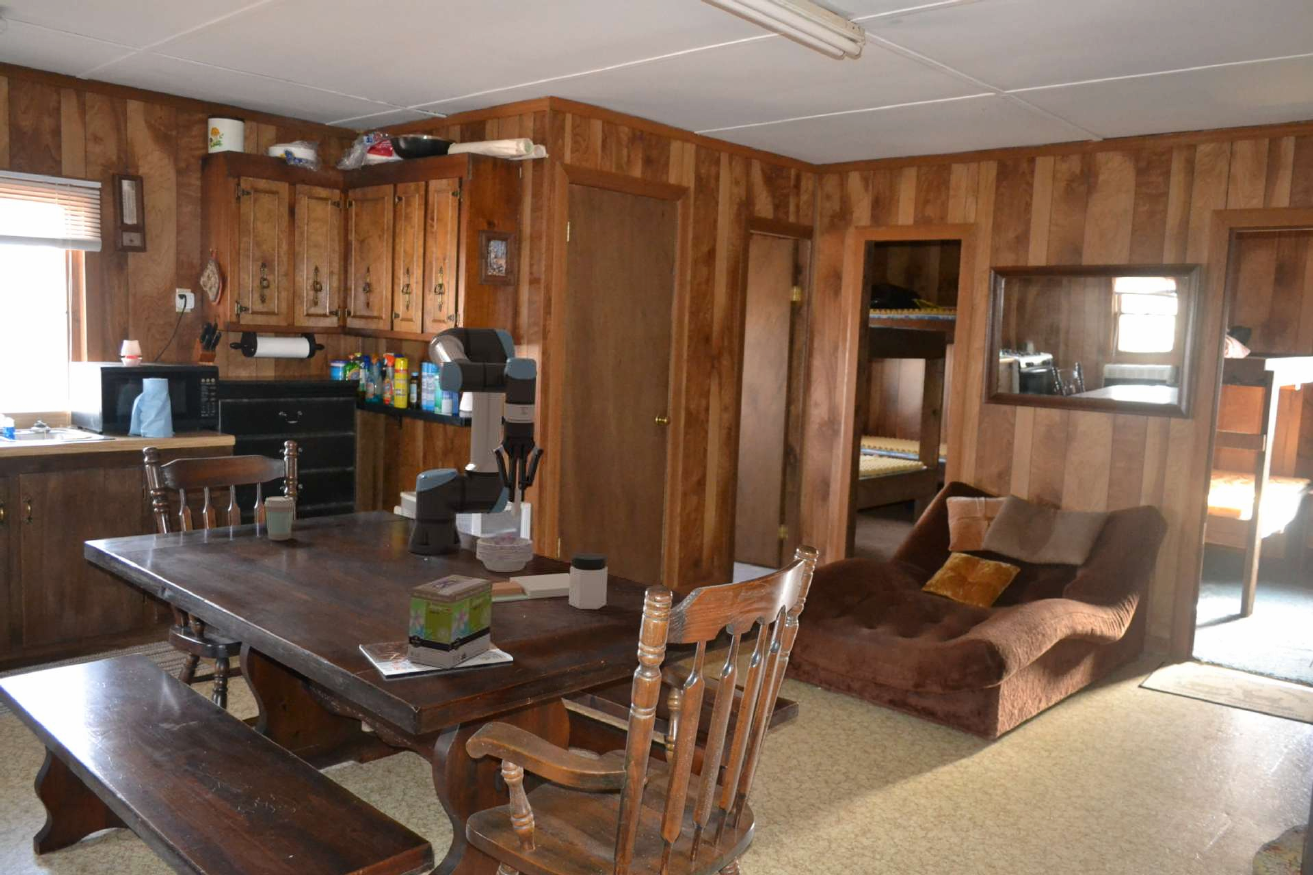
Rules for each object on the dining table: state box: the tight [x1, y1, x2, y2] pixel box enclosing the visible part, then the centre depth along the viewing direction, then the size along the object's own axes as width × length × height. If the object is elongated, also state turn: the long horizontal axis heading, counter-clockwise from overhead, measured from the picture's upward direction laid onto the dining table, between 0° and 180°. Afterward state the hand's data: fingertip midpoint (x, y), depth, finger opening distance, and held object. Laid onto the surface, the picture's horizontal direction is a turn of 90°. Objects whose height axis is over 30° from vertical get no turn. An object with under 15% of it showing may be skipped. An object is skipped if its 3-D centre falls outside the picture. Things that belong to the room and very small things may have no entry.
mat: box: [492, 593, 531, 604], centre depth 254 cm, size 15×15×1 cm
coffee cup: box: [263, 496, 296, 541], centre depth 304 cm, size 8×9×12 cm
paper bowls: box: [476, 535, 534, 573], centre depth 281 cm, size 15×15×8 cm
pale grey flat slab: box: [509, 572, 570, 600], centre depth 261 cm, size 14×16×2 cm
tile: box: [492, 581, 523, 596], centre depth 255 cm, size 6×9×2 cm, turn 119°
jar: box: [568, 552, 608, 610], centre depth 248 cm, size 9×8×12 cm
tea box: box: [407, 574, 493, 670], centre depth 205 cm, size 15×10×15 cm, turn 158°
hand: (515, 515), depth 257 cm, fingers closed
